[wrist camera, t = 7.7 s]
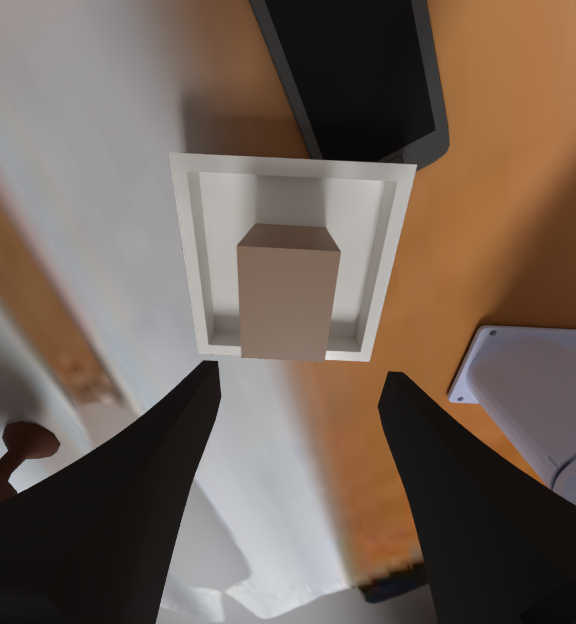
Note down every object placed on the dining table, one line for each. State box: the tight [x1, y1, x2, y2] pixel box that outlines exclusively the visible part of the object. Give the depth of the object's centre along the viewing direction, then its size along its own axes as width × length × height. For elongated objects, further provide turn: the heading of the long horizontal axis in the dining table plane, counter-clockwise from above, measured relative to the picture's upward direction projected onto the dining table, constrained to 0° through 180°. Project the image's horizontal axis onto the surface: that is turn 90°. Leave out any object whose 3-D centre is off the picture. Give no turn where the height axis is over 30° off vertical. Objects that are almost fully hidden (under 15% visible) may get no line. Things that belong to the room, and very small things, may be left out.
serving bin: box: [169, 153, 417, 362], centre depth 17 cm, size 13×13×2 cm
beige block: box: [237, 223, 341, 362], centre depth 15 cm, size 4×6×6 cm
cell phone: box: [249, 0, 449, 171], centre depth 13 cm, size 7×14×1 cm, turn 26°
